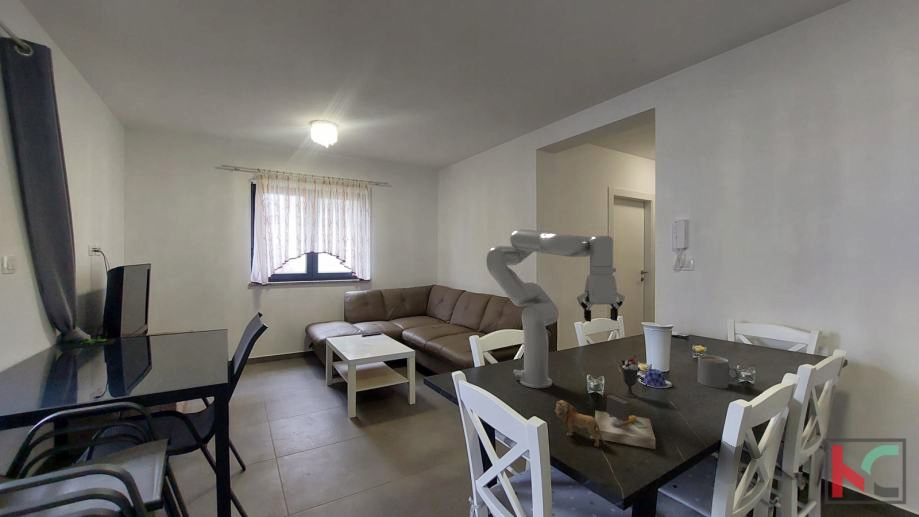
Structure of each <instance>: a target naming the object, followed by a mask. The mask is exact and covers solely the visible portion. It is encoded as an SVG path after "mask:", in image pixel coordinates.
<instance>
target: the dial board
mask: <svg viewBox="0 0 919 517" xmlns="http://www.w3.org/2000/svg"><path fill="white" fill-rule="evenodd" d="M594 413H595V414H594V419H595V420H596V421H597V423H598V426H599V428H600V432H601V436H602V438H603V440H604V441H606V442H608V441H609V442H612V443H619V444H625V445H631V446H635V447H641V448H646V449H647V448H648V449H652V450H656V437H655V433H654V431H653V426H652V422H651V420H650V418H648V417H640V416H636V417H637V420H635V421H632V422H629V423H625V424H622V425H621V426H616V425H614V424H613V416H611V415H609V414H607V411H600V410H595V411H594ZM595 433H596V436H597V437H598V439H599V440H601V438H600V436H599V433H598V430H597V428H596V431H595Z"/></svg>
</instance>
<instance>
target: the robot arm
mask: <svg viewBox="0 0 919 517" xmlns="http://www.w3.org/2000/svg"><path fill="white" fill-rule="evenodd" d="M509 241H510V244H511V245H509V246H508V245H497V246H494V247H492V248H490V249H489V251H488V252H487V255H486V262H485V263H486V267H487V270H488V272H489V274H490V276H491V277H492V278H493V279H494V280H495V281H496V282H497V284H498V285H499V286H500V288H501V289H502V291H503V292H504V293H505V295H506V296H507V298H508V299H509V300H510V302H512V303H513V305H515V306H516V307H524V309H523V310H522V312H521V322H522V323H521V324H522V329H523V331H522V332H523V369H521V370H520V369H513V375H514V377H520V378H519V383H520V384H521V385H522V386H525V387H527V388H531V389H546V388H550V387H551V386H552V385H553V380H552V379H551V378H549V335H548V331H547V328H546V326H549V325H552V324H555V323H557V321H558V319H559V317H560V316H559V315H560V311H559V308H558V306H557V305H556V304H555V302H553V300H552V299H551V298H550V296H549V295H548V293H546V292H545V290H544V289H543V288H542V287H541V286H540V285H539V284H537V283H534V282H524V281H523V280H522V279H521V278H520V277H519V276H518V274H517V273H516V272H515V271H514V270H513V269H511V268H510V267H509V266H517V265H520V264H521V263H522V262H523V261H524V260H526V259H527V258H529V256H531V255H532V254H533V253H538V254H545V255H555V256H560V257H568V258H577V257H579V258H583V257H584V258H585V257H589V274H587V276H586V279H585V285H584V292H583V293H581V294H579V295H578V296H577V297H576V300H577V301H578V305H579V306H581V308H582V309H583V318H584V321H585V322H588V323H589V322H590V323H591V322H592V310H591V308H592V307H593V306H594V305H610V307H611V308H610V309H609V310H610V312H609V313H610V315H609V316H610V318H609V319H610V320H611V321H615V322H617V321H618V316H619V311H618V310H619V309H620V307H621V306H622V305H623V303H624V301H625V298H626V297H625V295H623V294H621V293H619V292H618V290H617V280H616V278H615V275H614V272H615V273H616V271H617V269H616V267H614V239H613V237H612V236H609V235H593V236H585V235H584V236H583V235H570V234H560V233H553V232H552V233H551V232H550V231H546V230H545V231H543V230H532V229H517V230H515V231H513V232H512V233H511V235H510V237H509Z"/></svg>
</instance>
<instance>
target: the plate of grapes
mask: <svg viewBox="0 0 919 517" xmlns="http://www.w3.org/2000/svg"><path fill="white" fill-rule="evenodd" d="M643 377H644V381H643V382H644V383H643V382H641V379H640V378H641V377H638V378H637V381H638V382H639V383H640V384H642V385H646V384H647V385H646V386H647V387H652V388H657V389H658V388H659V389H661V388H662V389H664V388H665V389H667V388H670V387H672V386H673V384H672V383H671V382H670V381H668V380H666V378H665V374H664V372H663V371H662V370H659V369H654V368H648V369H646V371H645V373H644V376H643ZM666 384H667V385H666Z"/></svg>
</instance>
